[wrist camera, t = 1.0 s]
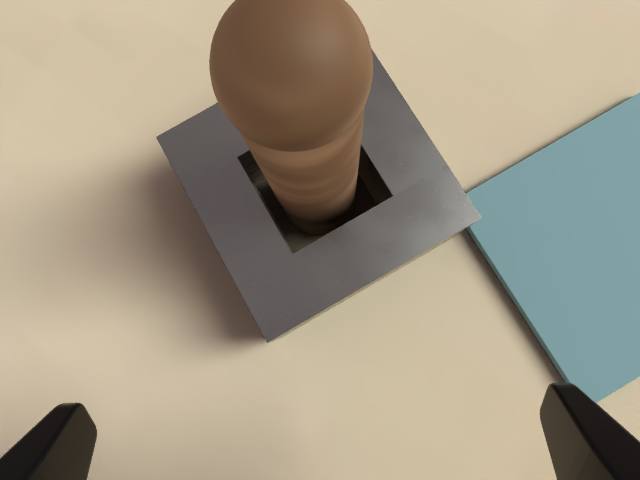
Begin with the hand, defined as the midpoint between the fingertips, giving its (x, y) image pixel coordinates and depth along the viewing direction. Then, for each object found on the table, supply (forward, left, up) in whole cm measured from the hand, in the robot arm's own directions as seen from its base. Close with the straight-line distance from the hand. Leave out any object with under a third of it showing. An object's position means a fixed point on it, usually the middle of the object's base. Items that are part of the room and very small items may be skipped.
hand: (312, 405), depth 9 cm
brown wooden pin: (+3, +7, -13) cm, 15 cm away
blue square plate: (+14, -2, -13) cm, 20 cm away
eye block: (+3, +7, -13) cm, 15 cm away
